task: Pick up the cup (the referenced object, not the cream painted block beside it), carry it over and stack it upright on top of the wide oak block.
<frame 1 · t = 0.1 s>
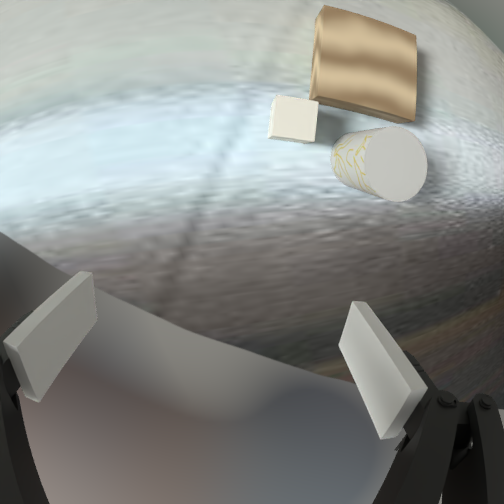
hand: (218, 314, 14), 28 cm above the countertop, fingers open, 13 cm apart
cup: (356, 160, 39), on the countertop
oak block: (359, 68, 34), on the countertop
cream block: (287, 123, 37), on the countertop
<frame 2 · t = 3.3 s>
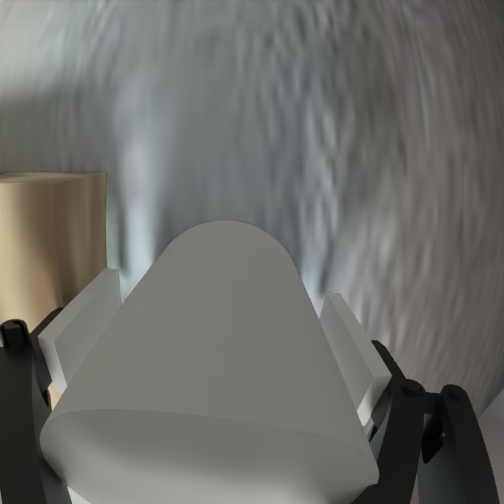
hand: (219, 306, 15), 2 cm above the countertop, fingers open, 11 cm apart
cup: (225, 291, 16), on the countertop
oak block: (25, 276, 16), on the countertop
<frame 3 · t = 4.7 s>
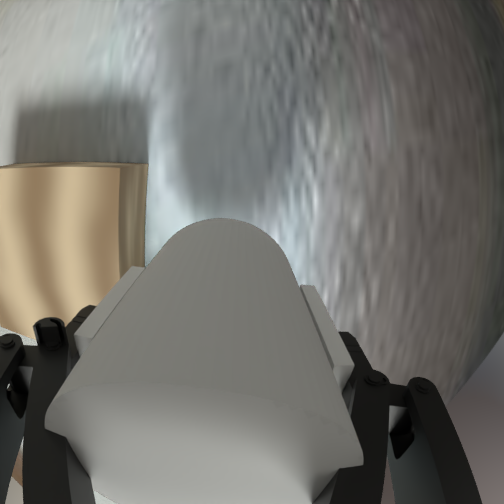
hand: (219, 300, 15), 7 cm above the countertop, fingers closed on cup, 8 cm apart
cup: (221, 287, 17), point 5 cm above the countertop, touching gripper
oak block: (71, 245, 22), on the countertop
when the fingers open (7 cm above the countertop, at t = 9.7 s): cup stays where it is, resting on oak block.
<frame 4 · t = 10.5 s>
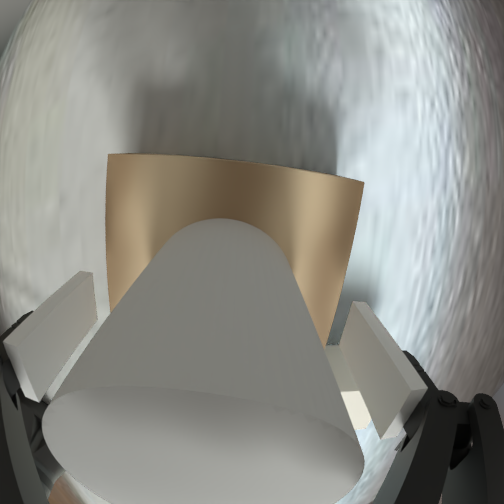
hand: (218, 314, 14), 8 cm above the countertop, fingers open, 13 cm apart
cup: (221, 287, 17), point 5 cm above the countertop, touching oak block
oak block: (225, 258, 21), on the countertop
cream block: (331, 366, 25), on the countertop
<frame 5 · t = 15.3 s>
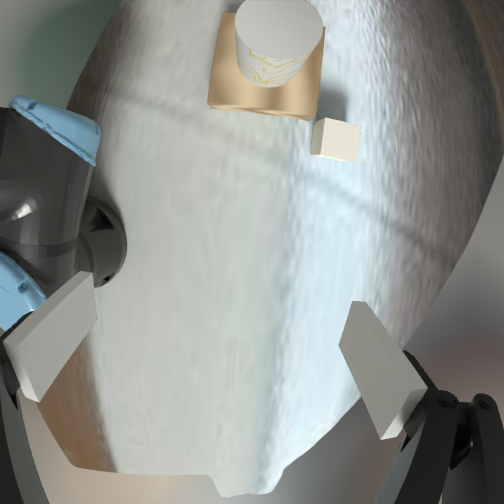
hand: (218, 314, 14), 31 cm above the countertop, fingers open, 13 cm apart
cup: (268, 60, 32), point 5 cm above the countertop, touching oak block
oak block: (265, 69, 37), on the countertop
cream block: (328, 141, 40), on the countertop
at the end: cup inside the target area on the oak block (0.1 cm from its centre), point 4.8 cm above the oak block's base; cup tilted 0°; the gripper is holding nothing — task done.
